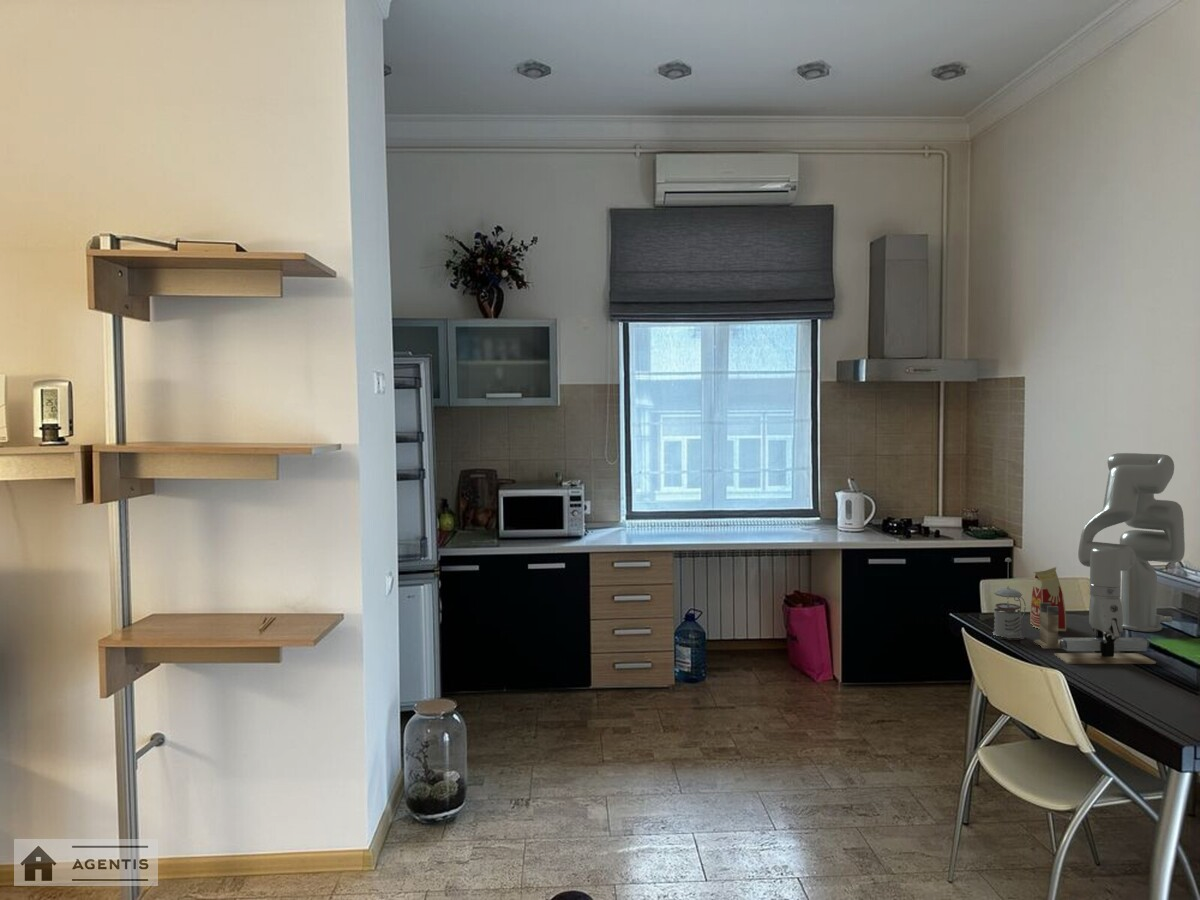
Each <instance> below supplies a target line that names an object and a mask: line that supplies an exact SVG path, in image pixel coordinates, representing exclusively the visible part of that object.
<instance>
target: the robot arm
mask: <svg viewBox="0 0 1200 900" xmlns="http://www.w3.org/2000/svg"><path fill="white" fill-rule="evenodd" d="M1107 468H1108V470H1109V473H1108V477H1107V482H1106V489H1105V494H1104V500H1103V507H1102V509H1101V510H1100V511H1099V512H1098V513H1096V514H1095V515H1094V516H1092V517H1091V518H1090V519H1089V521H1088V522H1087V523H1086V524H1085V525H1084V527H1083V529H1082V531H1081V534H1080V540H1079V546H1078V553H1077V554H1078V555H1077V556H1078V560H1079V563H1080V564H1081V565H1083V566H1085V567H1088V568H1089V595H1090V597H1089V605H1088V607H1089V608H1088V609H1089V610H1088V622H1089V625H1090V627H1091V628H1092V631H1093V638H1103V642H1102V650H1101V651H1094V653H1101V655H1102V656H1103V657H1113V656H1114V653H1115V651H1114V643H1115V640H1116V639H1117V638H1119V633H1120V634H1122V633H1123V631H1124V629H1125V630H1130V631H1134V632H1135V631H1136V632H1145V633H1146V632H1147V633H1148V632H1149V633H1150V632H1151V633H1152V632H1160V631H1162V630H1163V626H1162V623H1172V622H1173V617H1172V616H1169V615H1167V616H1164V615H1161V614H1158V613H1157V603H1158V602H1157V599H1158V598H1157V596H1158V594H1157V593H1158V575H1157V571H1156V569H1155V568H1154V566H1152V564H1151V563H1150V562H1160V563H1171V564H1175V563H1180V562H1181V561H1182V560H1183V559H1184V556H1185V526H1184V525H1185V523H1184V520H1185V519H1184V512H1183V507H1182V506H1181V505H1180V504H1179V502H1176V501H1174V500H1169V499H1168V500H1167V499H1156V498H1155V495H1156V494H1157V495H1158V494H1162V493H1163V492H1164V491H1165V489H1166V488H1167V486H1168V485H1169V483H1170V481H1171V479H1172V477H1173V476H1174V473H1175V462H1174V460H1173V459H1172V457H1171V456H1169V455H1168V454H1163V453H1162V454H1160V453H1134V452H1133V453H1132V452H1124V453H1123V452H1122V453H1121V452H1119V453H1118V452H1117V453H1113V454H1111V455H1110V456H1109V457H1108V458H1107ZM1122 523H1125V525H1126V526H1128V527H1130V528H1135V529H1131V530H1126V531H1124V532H1123V533H1122V534H1121V535H1120V537H1119V543H1113V542H1112V543H1111V542H1100V541H1094V539H1095V537H1096V535H1097V534H1098V533H1100V531H1103V530H1105V529H1107V528H1109V527H1112V526H1116V525H1119V524H1122ZM1140 529H1141V530H1140ZM1142 529H1143V530H1142ZM1154 530H1155V531H1154ZM1121 572H1122V573H1121ZM1121 575H1122V578H1121ZM1121 579H1122V581H1121ZM1121 582H1122V583H1121ZM1121 588H1122V589H1121ZM1109 630H1111V632H1109ZM1107 634H1111V635H1108V637H1107Z"/></svg>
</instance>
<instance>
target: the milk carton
mask: <svg viewBox="0 0 1200 900" xmlns="http://www.w3.org/2000/svg"><path fill="white" fill-rule="evenodd" d="M1033 573H1034V575H1035V577H1034V581H1033V587H1032V590H1031V591H1032V592H1031V604H1030V621H1029V622H1030V625H1031V624H1032V625H1033V626H1032V625H1031V626H1032V628H1033V627H1035V628H1034V629H1036V628H1038V629H1037V630H1039V629H1040V603H1051V606H1058V607H1059V609H1058V632H1067V612H1066V611H1067V610H1066V606H1065V600H1064V599H1065V598H1064V594H1063V590H1062V587H1061V583H1060V579H1059V577H1058V574H1057V566H1053V567H1051V568H1048V569H1044V570H1040V571H1034V572H1033Z"/></svg>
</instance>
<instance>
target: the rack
mask: <svg viewBox="0 0 1200 900" xmlns="http://www.w3.org/2000/svg"><path fill="white" fill-rule="evenodd" d="M1058 609H1059V607H1058V606H1051V603H1040V630H1039V639H1034V640H1033V643H1034V642H1035V643H1037V644H1038V645H1040V646H1041V648H1042V649H1062V648H1061V647H1060V640H1061V639H1059V631H1058ZM1109 632H1111V630H1109ZM1108 635H1111V634H1107V637H1108ZM1119 638H1121V633H1119ZM1035 643H1034V644H1035ZM1037 644H1036V645H1037ZM1038 645H1037V646H1038ZM1040 646H1039V647H1040Z"/></svg>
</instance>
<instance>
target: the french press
mask: <svg viewBox="0 0 1200 900" xmlns="http://www.w3.org/2000/svg"><path fill="white" fill-rule="evenodd" d="M1012 561H1013V560H1012V559H1011V557H1006V558H1005V560H1004V562H1006V563H1007V578H1009V577H1010V576H1009V569H1010V568H1009V566H1010V565H1009V563H1011V562H1012ZM993 594H994V595H995V596H998V597H1003V598H1013V600H1014V601H1015V602H1019V604H1015V603H1008V602H1007V603H1006V602H1004V603H1003V602H1002V603H996V604H995V607H996V608H994V611H993V612H994V613H993V616H994V617H993V621H994V622H993V629H994V630H993V632H992V633H993V635H996V636H1001V637H1007V638H1020V637H1022V636H1024V635H1023V634H1022V619H1023V618H1024V616H1025V613H1026V608H1024V610H1023V614H1022V602H1021V600H1022V601H1023V604H1024V605H1026V602H1025V599H1024V598H1023V597H1022V596H1023V593H1022V592H1021V591H1019V590H1017V589H1016V588H1011V587H1004V588H999V589H996V590H994V592H993ZM1016 598H1017V599H1016ZM1016 610H1017V612H1016Z"/></svg>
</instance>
